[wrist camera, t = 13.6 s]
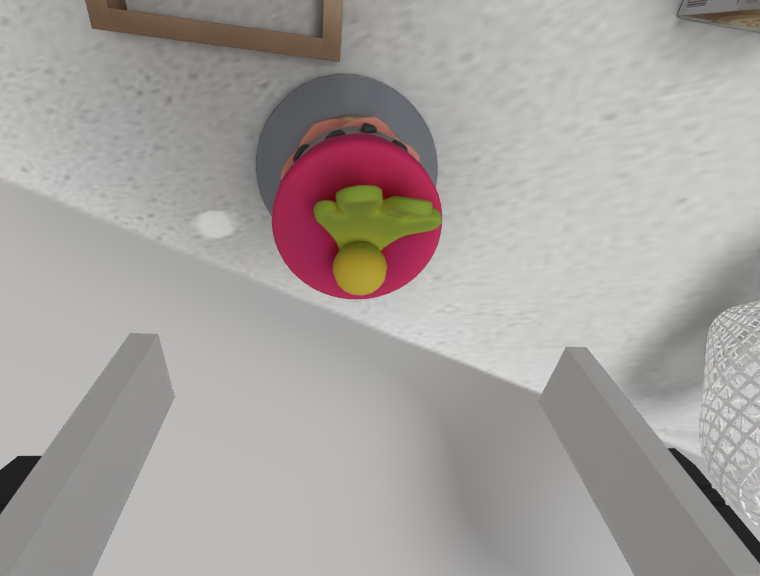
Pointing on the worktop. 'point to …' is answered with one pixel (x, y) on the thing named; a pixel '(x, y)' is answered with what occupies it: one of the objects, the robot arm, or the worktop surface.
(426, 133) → the plate
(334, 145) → the cake
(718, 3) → the coffee box
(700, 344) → the worktop surface
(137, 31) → the frame
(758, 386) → the heart
